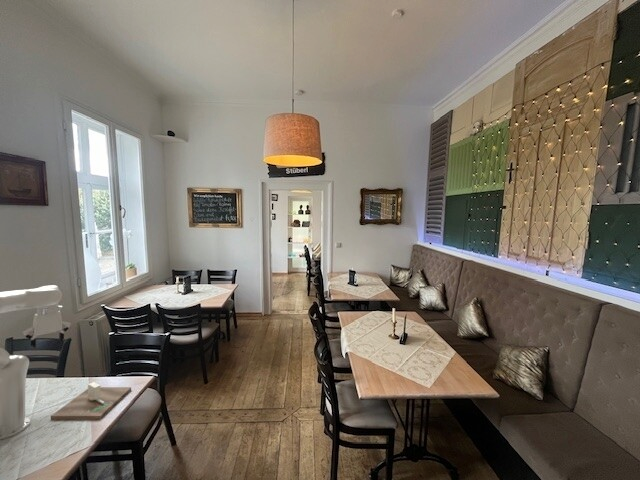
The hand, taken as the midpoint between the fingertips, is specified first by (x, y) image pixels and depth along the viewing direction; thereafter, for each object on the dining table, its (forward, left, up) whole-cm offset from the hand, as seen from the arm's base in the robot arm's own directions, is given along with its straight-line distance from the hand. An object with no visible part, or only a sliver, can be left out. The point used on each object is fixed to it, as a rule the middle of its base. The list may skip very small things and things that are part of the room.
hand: (47, 343), depth 136 cm
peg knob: (-7, -29, -25) cm, 39 cm away
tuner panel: (-7, -28, -26) cm, 39 cm away
